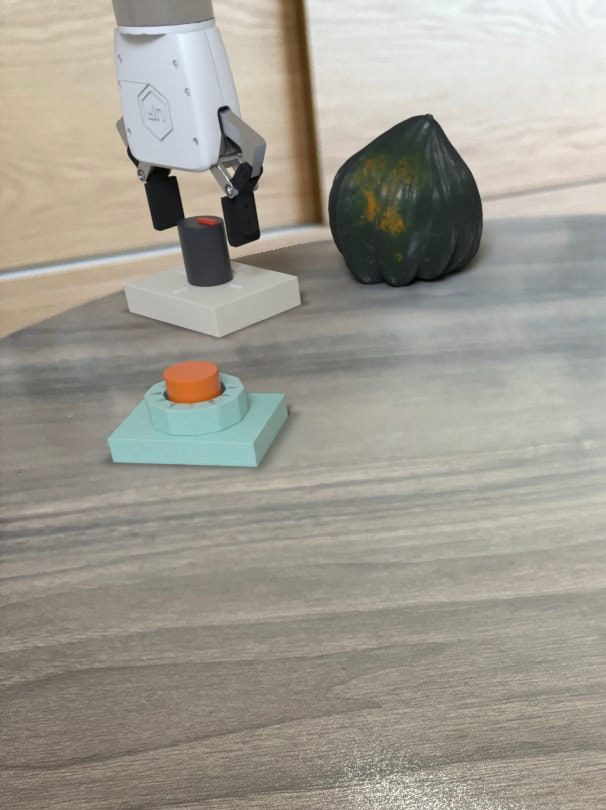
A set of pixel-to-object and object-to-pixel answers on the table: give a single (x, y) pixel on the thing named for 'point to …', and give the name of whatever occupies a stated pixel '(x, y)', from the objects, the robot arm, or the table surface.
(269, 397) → the switch block
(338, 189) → the squash
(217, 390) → the power button
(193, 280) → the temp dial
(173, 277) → the grey base plate
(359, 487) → the table surface
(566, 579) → the table surface
